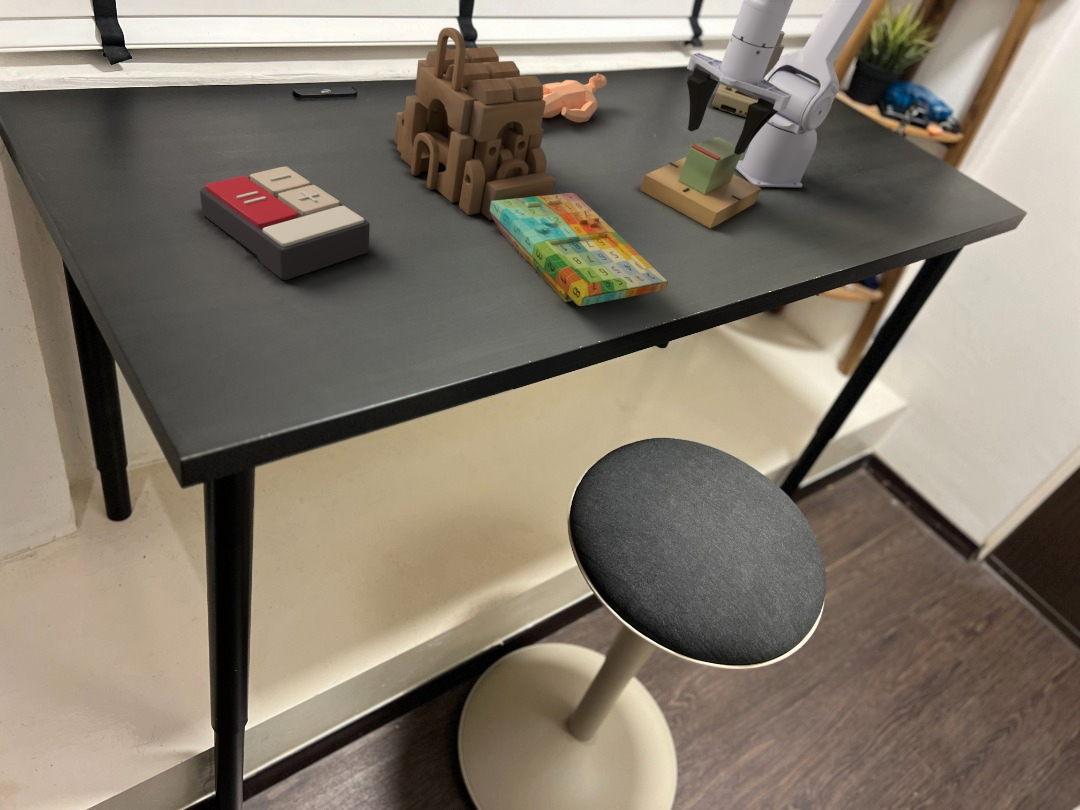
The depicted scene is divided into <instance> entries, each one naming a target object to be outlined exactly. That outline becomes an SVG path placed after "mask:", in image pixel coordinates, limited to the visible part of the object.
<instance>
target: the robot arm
mask: <svg viewBox="0 0 1080 810" xmlns="http://www.w3.org/2000/svg"><path fill="white" fill-rule="evenodd" d="M793 2H794V0H743V1H742V3H741V7H740V8H739V12H738V15H737V18H736V20H735V23H734V25H733V29H732V32H731V35H730V38H729V41H728V42H727V43H728V44H727V47H726V49H725V51H724V55H723V58H722V60H720V59H717V58H714V57H711V56H709V55H705V54H703V53H701V52H695V53H691V54H690V57H689V60H688V63H687V66H686V69H687V70H688V71H690V72H692V73H691V75H688V76H687V78H686V79H687V80H686V84H687V89H688V95H689V96H688V98H689V115H688V116H689V118H688V125H687V130H688V131H690V132H691V133H692V132H694V131H697V130H699V129H700V126H701V124H702V123H703V121H704V117H705V115H706V114H705V113H706V111H707V107H708V104H709V103H710V101H711V98H712V96H713V94H714V93H715V92H714V91H715V90H716V88H717V86H718V84H719V83H720V84H722V85H725V86H729V87H731V88H733V89H736V90H738V91H740V92H742V93H744V94H746V95H749V96H751V97H753V98H755V99H757V103H756V102H755V103H752V104H750V105H749V107H748V111H747V116H746V117H745V120H744V124H743V127H742V131H741V133H740V135H739V137H738V140H737V142H736V144H735V146H736V147H735V151H734V153H735V154H737V155H739V154H741V155H742V154H744V153H745V155H744V157H743V159H739V161H738V164H737V166H736V169H735V170H736V171H738V173H740V174H741V175H742V176H743V178H744V179H745V180H746V181H748V182H750V183H752V184H754V185H756V186H757V187H759V188H799V189H800V188H802V187H803V186H804V185H803V184H802V179H803V176H804V174H805V173H806V170H807V168H808V166H809V164H810V162H811V159H812V158H813V156H814V153H815V152H816V148H817V143H818V135H817V130H816V129H817V128H818V127H820V125H821V124H822V123H823V122H824V121H825V119H826V118H827V116H828V114H829V113H830V111H831V108H832V105H833V102H834V100H835V99H836V96H837V94H838V93H839V90H840V83H839V82H840V81H839V78H838V75H837V73H836V69H835V66H834V64H835V63H836V62H837V61H836V60H838V58H839V56H840V54H841V53H842V51H843V50H844V48H845V46H846V45H847V43H848V42H849V40H850V39H851V36H852V35H853V34H854V32H855V30H856V29H857V27H858V25H859V24H860V23H861V21H862V19H863V18H864V16H865V14H866V12H867V11H868V9H869V8H870V6H871V5H872V3H873V2H874V0H831V2H830V3H829V5H828V7H827V8H826V10H825V11H824V13H823V14H822V16H821V18H820V20H819V21H818V23H817V25H816V26H815V27H814V30H812V31H813V32H812V33H811V35H810V36H809V38H808V40H807V41H806V43H805V44H804V46H803V48H801V49H799V50H796V51H792V52H788V53H785V54H783V55H781V56H780V59H779V60H778V62H777V63H776V65H775V66H774V67H773V69H772V70H771V71H770V72H769V73H768V74H767V75H766V76H765V77H764V79H763V76H764V73H765V71H766V68H767V66H768V63H769V60H770V58H771V55H772V53H773V50H774V48H775V45H776V43H777V40H778V37H779V35H780V32H781V31H783V30H782V29H783V27H784V24H785V22H786V19H787V17H788V14H789V13H790V9H791V7H792V5H793ZM799 75H800V76H799ZM801 76H803V77H801ZM805 78H807V79H805ZM809 80H811V81H809ZM812 81H813V82H812ZM814 82H815V83H814ZM818 84H819V85H820V86H819V85H818Z"/></svg>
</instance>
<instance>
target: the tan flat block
mask: <svg viewBox="0 0 1080 810" xmlns="http://www.w3.org/2000/svg"><path fill="white" fill-rule="evenodd" d="M686 157H687V156H686ZM686 157H683V158H680V159H678V160H675V161H674V162H672V161H670V162H669V164H667V165H664V166H662V167H660V168H657V169H655V170H653V171H650V172H648V173H646V174H644V178H643V181H642V184H641V187H640V191H641V193H645V194H646V195H648V196H650V197H652V198H653V199H655V200H657V201H659V202H661V203H662V204H665V205H666V206H668V207H670V208H672V209H674V210H675V211H677V212H679V213H681V214H682V215H685V216H686V217H688V218H690V219H692V220H693V221H695V222H696V223H699V224H701V225H702V226H704V227H706V228H709V229H710V230H711V229H713V228H714V227H716V226H718V225H720V224H721V223H723V222H725V221H727V220H729V219H731V218H732V217H734V216H735V215H737V214H739V213H741V212H742V211H744V210H745V209H748V208H749V207H751V206H753V205H755V204H756V201H757V199H758V197H759V194H760V192H761V190H762V187H757V186H756V185H754V184H752V183H750V182H749V181H748V180H747V179H745V178H742V177H740V176H738V175H735V173H734V174H733V176H732V179H731V181H730V182H728V183H726V184H724V185H722V186H720V187H718V188H716V189H714V190H712V191H710V192H708V193H706V194H703V193H701V192H699V191H697V190H695V189H693V188H691V187H689V186H687V185H686V184H684V183H682V182H680V181H678V180H679V177H680V174H681V171H682V168H683V166H684V163H685V160H686Z"/></svg>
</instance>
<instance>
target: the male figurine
mask: <svg viewBox="0 0 1080 810" xmlns="http://www.w3.org/2000/svg"><path fill="white" fill-rule="evenodd" d="M606 85H607V77H606V76H605V75H603V74H600V73H596V75H593V76H591V77H590V78H589V81H588V83H587V84H582V83H581V82H579V81H578V80H574V79H573V80H572V79H565V80H564V81H562V82H559V81H557V82H550V83H545V84H542V86H543V100H544V101H546V104H545V109H544V114H543V118H544V119H551V118H554V117H555V116H557V115H560V114H561V116H563V117H564V118H565V119H567V120H569V121H572V122H574V123H584V122H588V121H590V119H591V118H592V116H593V115H594V113H595V112H596V111H597V109H598V100H597V99H596V97H595V95H594V94H596V91H597V90H598V89H601V88H603V87H605V86H606Z"/></svg>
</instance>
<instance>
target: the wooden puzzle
mask: <svg viewBox="0 0 1080 810" xmlns="http://www.w3.org/2000/svg"><path fill="white" fill-rule="evenodd" d="M449 39H451V40H452V41H453V43H454V47H455V48H451V49H450V48H447V47H448V41H449ZM542 85H543V84H542V83H541V81H540V79H539V78H538V76H536V75H525V76H524V75H523V76H521V70H520V68H519V67H518V66H517V64H516V62H515V61H513V60H502V61H501V60H500V57H499V55H498V54H497V52H496V50H495V49H494V48H493V47H492V46H488V47H487V46H485V47H467V46H466V43H465V38H464V36H463V34H462V33H461V32H460V31H459V30H458V29H456V28H454V27H450V26H449V27H443V28H442V29H441V30H440V31H439V33H438V37H437V42H436V49H430V50H428V53H427V55H426V57H425V59H418V60H417V68H416V77H415V86H414V87H415V88H414V93H415V94H414V95H406V97H405V108H404V110H403V111H398V112H396V116H395V126H394V137H393V142H394V143H395V144H396V146H397V147H396V151H398V152H399V154H400V159H401V160H402V161H403V162H405V163H406V164H407V165H408V166H410V174H411V175H413V176H414V177H416V176H420V173H423V172H427V180H426V188H427V189H428V190H430V191H433V190H437V192H439V193H440V194H441V195H442V196H443V197H444V198H445V199H447V200H448V201H449V202H450V203H452V204H453V203H458V208H459V209H460V210H462V211H463V212H464V213H465V214H466V215H468V216H472V215H477V214H480V213H481V214H482V215H483V216H485V218H487V219H488V221H494V220H493V218H492V215H491V213H490V211H489V209H490V203H491V201H496V200H505V199H515V198H525V197H534V196H544V195H553V190H554V186H555V182H556V178H554V177H553V176H551V175H550V174H549V173H548V172H547V156H546V154H545V151H544V150H543V148H542V147H541V146H542V140H543V137H544V131H545V129H544V128H543V127H542V122H543V118H544V117H543V114H544V109H545V104H546V101H544V100H543V86H542ZM443 169H445V170H444V171H442V172H439V170H443Z"/></svg>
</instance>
